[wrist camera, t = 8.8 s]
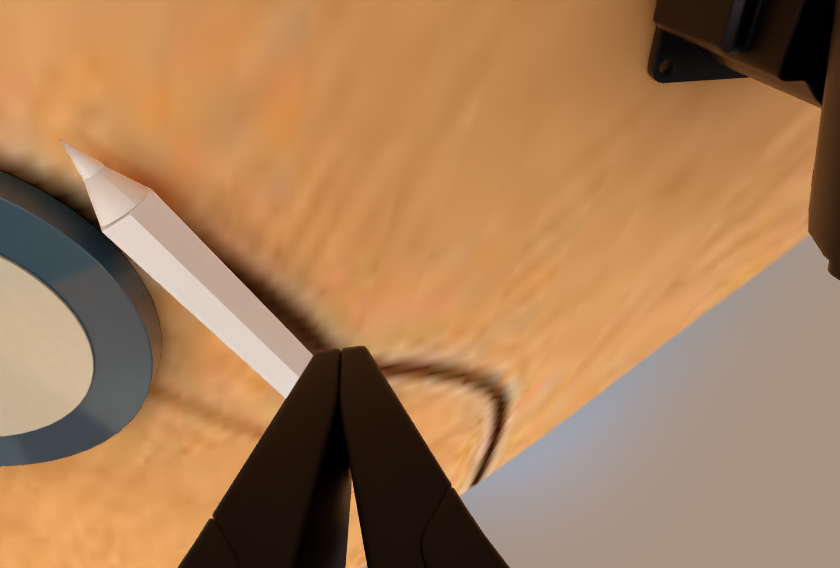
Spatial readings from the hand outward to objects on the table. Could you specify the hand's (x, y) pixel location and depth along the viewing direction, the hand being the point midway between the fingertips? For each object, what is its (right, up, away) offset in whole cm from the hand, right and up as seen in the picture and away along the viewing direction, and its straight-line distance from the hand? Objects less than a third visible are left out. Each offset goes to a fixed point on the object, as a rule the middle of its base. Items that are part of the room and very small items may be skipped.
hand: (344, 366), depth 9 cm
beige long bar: (-7, +1, +13) cm, 15 cm away
